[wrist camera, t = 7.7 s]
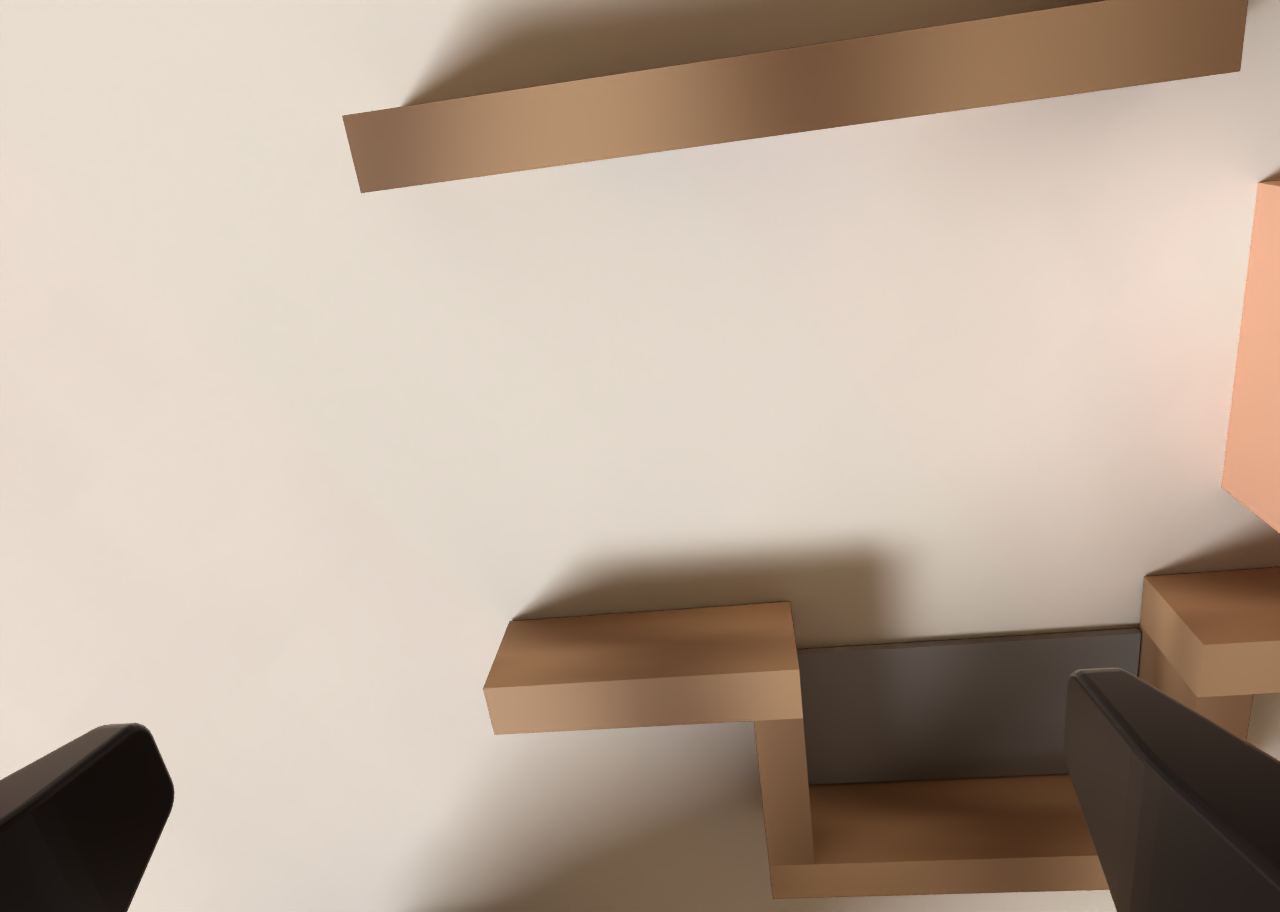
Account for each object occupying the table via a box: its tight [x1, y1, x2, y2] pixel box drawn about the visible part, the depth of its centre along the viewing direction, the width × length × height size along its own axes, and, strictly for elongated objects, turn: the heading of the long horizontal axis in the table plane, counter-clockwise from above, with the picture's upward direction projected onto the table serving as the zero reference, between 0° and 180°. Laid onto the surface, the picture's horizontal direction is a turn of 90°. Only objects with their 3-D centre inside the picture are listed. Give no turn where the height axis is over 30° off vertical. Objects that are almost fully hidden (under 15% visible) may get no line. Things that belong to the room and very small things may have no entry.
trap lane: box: [342, 0, 1280, 899], centre depth 15 cm, size 23×22×4 cm
